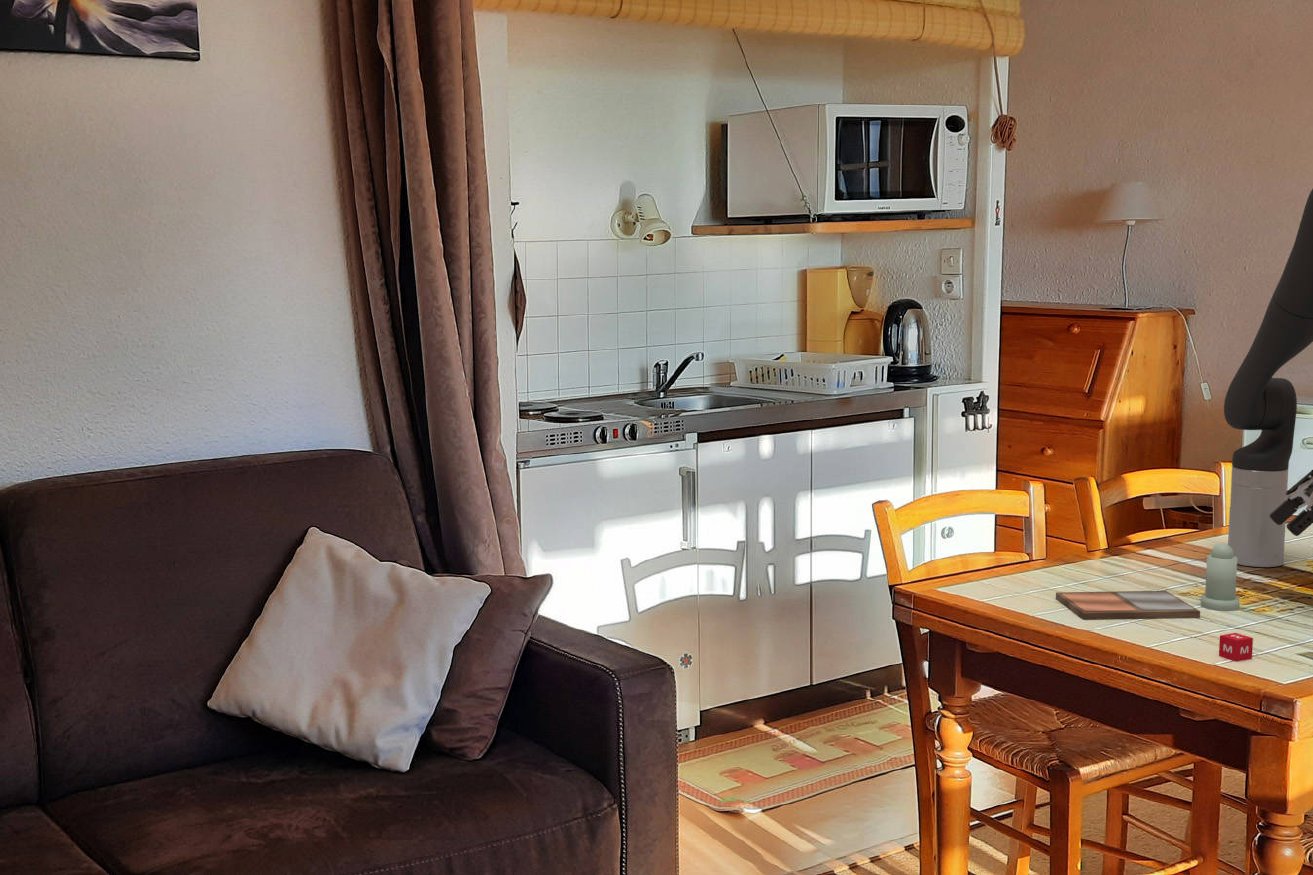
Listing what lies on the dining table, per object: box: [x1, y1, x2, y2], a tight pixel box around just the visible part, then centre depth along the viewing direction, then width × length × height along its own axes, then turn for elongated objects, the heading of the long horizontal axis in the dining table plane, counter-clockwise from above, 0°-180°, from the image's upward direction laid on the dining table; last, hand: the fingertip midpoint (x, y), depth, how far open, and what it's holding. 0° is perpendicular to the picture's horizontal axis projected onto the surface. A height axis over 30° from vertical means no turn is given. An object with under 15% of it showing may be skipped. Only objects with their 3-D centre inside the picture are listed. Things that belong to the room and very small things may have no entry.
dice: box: [1218, 632, 1254, 662], centre depth 187 cm, size 3×3×3 cm
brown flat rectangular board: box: [1055, 590, 1201, 621], centre depth 213 cm, size 13×18×1 cm
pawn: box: [1200, 542, 1240, 612], centre depth 213 cm, size 6×6×10 cm
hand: (1282, 526), depth 211 cm, fingers open, 8 cm apart
